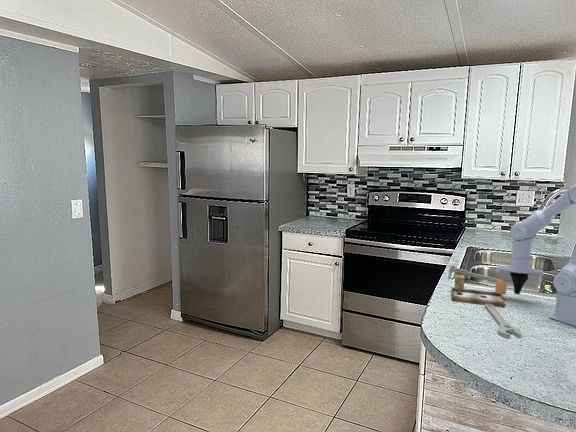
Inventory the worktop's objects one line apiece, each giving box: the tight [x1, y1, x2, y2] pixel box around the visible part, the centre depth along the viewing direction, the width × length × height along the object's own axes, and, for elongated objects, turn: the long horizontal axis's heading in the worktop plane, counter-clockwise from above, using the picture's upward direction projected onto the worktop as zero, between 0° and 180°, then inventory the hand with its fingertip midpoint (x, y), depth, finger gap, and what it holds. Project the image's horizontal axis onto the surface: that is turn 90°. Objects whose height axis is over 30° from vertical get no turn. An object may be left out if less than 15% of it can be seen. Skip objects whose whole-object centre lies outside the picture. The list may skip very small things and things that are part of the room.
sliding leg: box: [494, 278, 508, 300], centre depth 146 cm, size 3×8×5 cm, turn 159°
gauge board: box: [450, 274, 506, 308], centre depth 148 cm, size 17×12×7 cm
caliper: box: [447, 264, 497, 283], centre depth 170 cm, size 20×1×6 cm, turn 76°
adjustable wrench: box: [484, 304, 522, 340], centre depth 129 cm, size 25×6×2 cm, turn 164°
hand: (516, 293), depth 146 cm, fingers closed
